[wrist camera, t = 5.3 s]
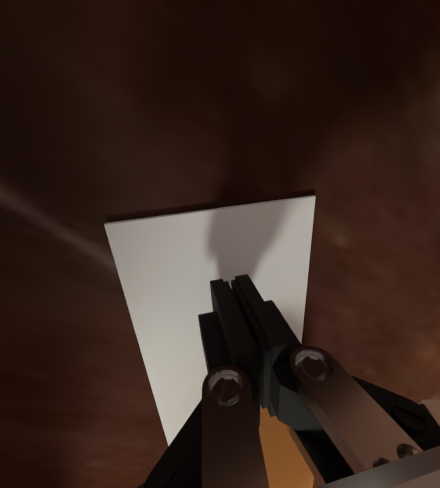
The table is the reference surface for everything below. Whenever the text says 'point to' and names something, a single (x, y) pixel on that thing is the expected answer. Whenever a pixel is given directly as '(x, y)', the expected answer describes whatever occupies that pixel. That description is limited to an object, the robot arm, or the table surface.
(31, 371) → the table surface
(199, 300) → the lane mark
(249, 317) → the robot arm
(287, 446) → the ball
